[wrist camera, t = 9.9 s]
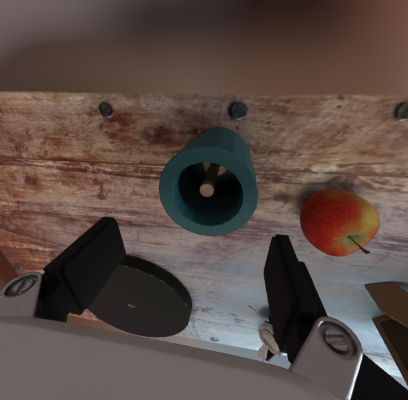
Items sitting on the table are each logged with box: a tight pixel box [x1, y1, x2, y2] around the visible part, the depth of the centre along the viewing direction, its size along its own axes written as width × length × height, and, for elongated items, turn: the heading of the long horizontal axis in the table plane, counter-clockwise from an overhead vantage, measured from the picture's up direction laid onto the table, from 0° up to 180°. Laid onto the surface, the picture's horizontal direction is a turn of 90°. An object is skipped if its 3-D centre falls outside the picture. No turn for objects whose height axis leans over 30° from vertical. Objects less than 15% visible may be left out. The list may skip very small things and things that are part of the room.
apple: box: [300, 190, 380, 256], centre depth 23 cm, size 8×8×10 cm
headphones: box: [249, 306, 283, 363], centre depth 38 cm, size 8×10×20 cm
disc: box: [87, 256, 192, 337], centre depth 46 cm, size 30×30×3 cm
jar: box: [159, 128, 259, 236], centre depth 21 cm, size 9×9×12 cm
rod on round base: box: [200, 162, 227, 197], centre depth 22 cm, size 4×4×10 cm
